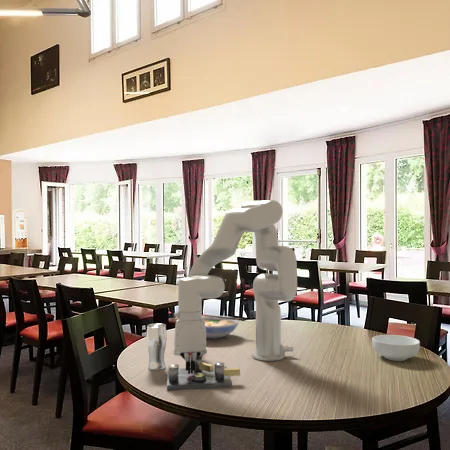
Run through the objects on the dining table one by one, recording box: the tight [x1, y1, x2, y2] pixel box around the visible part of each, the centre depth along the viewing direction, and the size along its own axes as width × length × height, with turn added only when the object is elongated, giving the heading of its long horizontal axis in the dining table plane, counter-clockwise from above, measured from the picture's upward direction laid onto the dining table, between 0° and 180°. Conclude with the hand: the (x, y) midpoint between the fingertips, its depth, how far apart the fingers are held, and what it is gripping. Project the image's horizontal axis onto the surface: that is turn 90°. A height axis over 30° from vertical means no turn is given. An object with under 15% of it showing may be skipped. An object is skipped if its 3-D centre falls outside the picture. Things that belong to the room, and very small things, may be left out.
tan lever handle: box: [193, 355, 214, 372], centre depth 150 cm, size 8×3×5 cm, turn 49°
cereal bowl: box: [371, 334, 421, 362], centre depth 170 cm, size 17×17×7 cm
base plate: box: [166, 365, 233, 392], centre depth 147 cm, size 20×16×3 cm
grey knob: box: [213, 361, 241, 380], centre depth 144 cm, size 8×3×5 cm, turn 96°
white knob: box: [167, 363, 180, 382], centre depth 144 cm, size 8×3×5 cm, turn 6°
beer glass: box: [146, 322, 167, 371], centre depth 160 cm, size 7×7×15 cm
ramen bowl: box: [202, 314, 248, 340], centre depth 203 cm, size 25×23×8 cm
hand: (190, 372), depth 146 cm, fingers closed
